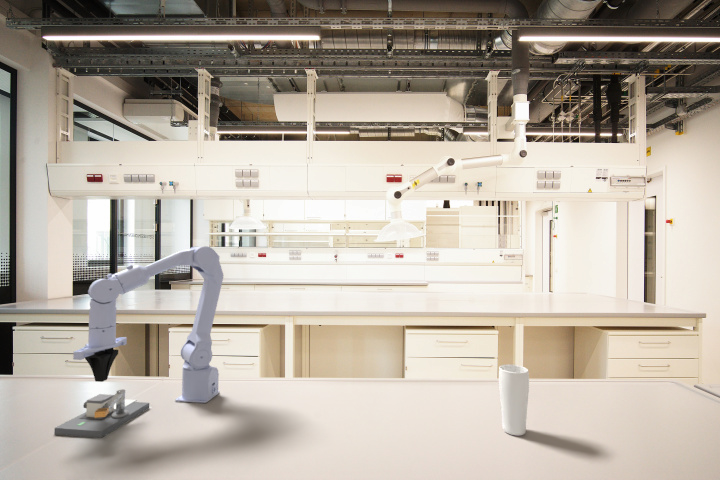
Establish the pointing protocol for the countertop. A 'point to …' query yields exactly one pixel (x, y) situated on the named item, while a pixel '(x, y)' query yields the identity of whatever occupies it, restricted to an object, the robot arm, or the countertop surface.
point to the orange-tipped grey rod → (120, 404)
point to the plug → (97, 404)
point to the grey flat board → (101, 421)
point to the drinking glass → (514, 398)
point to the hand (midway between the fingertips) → (101, 380)
